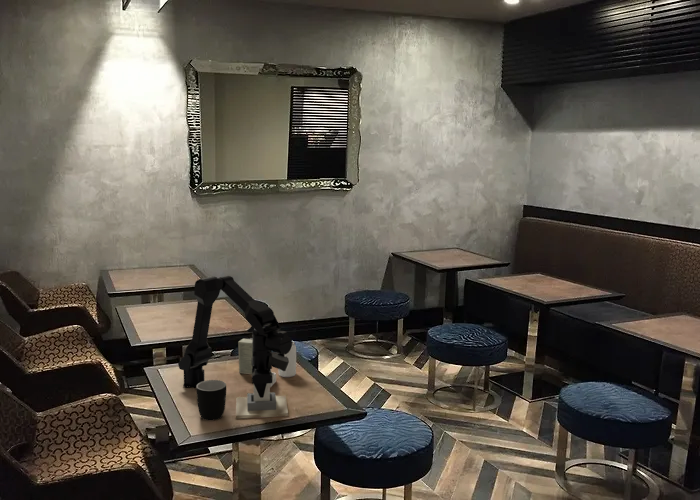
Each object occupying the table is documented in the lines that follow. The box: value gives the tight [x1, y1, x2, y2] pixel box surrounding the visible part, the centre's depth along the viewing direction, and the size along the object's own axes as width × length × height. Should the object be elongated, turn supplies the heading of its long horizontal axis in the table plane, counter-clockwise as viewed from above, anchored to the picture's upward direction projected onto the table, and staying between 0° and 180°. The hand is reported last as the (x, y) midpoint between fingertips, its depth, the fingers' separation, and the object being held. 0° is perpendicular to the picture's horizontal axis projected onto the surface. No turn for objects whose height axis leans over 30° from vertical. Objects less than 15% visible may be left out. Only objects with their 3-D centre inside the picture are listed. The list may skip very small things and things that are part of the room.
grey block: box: [253, 383, 271, 401], centre depth 197 cm, size 5×4×9 cm
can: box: [277, 340, 297, 378], centre depth 227 cm, size 6×6×12 cm
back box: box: [246, 392, 277, 411], centre depth 197 cm, size 9×8×2 cm
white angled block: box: [270, 370, 277, 388], centre depth 217 cm, size 4×10×9 cm, turn 169°
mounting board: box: [235, 395, 289, 420], centre depth 198 cm, size 16×14×1 cm
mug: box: [195, 379, 227, 422], centre depth 191 cm, size 12×9×10 cm
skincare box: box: [237, 338, 252, 375], centre depth 228 cm, size 6×4×12 cm
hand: (261, 394), depth 197 cm, fingers closed on grey block, 4 cm apart
